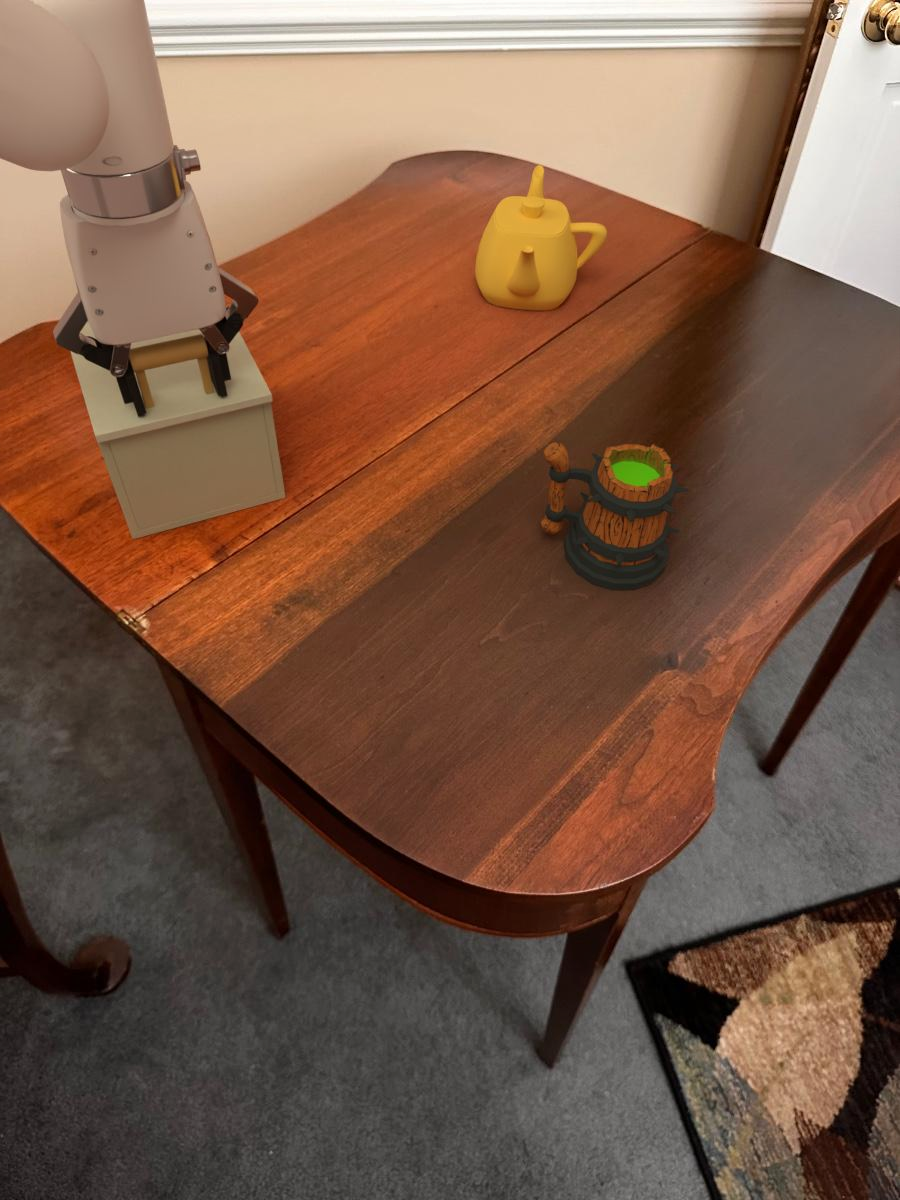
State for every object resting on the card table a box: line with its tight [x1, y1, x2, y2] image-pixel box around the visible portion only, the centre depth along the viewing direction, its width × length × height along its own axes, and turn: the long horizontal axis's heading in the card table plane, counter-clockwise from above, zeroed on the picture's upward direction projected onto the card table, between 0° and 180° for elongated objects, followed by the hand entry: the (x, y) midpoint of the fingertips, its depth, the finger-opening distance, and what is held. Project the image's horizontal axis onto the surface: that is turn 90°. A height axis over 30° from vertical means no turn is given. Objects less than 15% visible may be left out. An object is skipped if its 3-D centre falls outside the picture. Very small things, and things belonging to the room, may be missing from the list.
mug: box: [540, 441, 690, 591], centre depth 76 cm, size 13×10×12 cm
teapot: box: [474, 164, 608, 312], centre depth 106 cm, size 22×16×11 cm
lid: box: [69, 306, 274, 444], centre depth 75 cm, size 18×15×6 cm
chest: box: [97, 402, 287, 540], centre depth 82 cm, size 18×15×12 cm
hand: (179, 395), depth 73 cm, fingers closed on lid, 6 cm apart
